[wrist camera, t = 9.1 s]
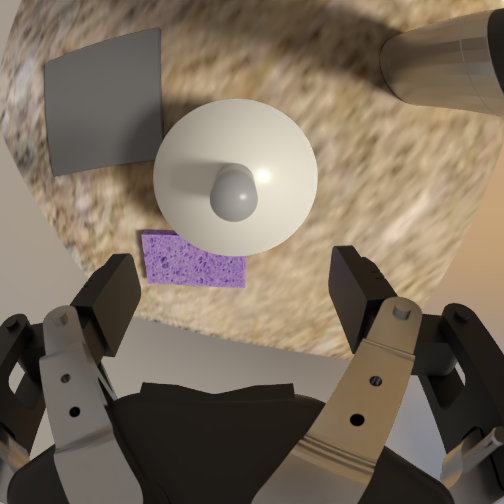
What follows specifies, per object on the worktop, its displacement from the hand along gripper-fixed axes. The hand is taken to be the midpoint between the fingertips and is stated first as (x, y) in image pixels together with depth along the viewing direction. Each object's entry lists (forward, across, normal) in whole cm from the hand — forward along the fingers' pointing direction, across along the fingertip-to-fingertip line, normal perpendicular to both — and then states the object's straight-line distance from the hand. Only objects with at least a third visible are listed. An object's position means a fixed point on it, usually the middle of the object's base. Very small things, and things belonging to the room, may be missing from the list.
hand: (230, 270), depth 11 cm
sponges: (+22, +6, +11) cm, 25 cm away
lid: (+15, 0, 0) cm, 15 cm away
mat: (+21, +15, -9) cm, 28 cm away
